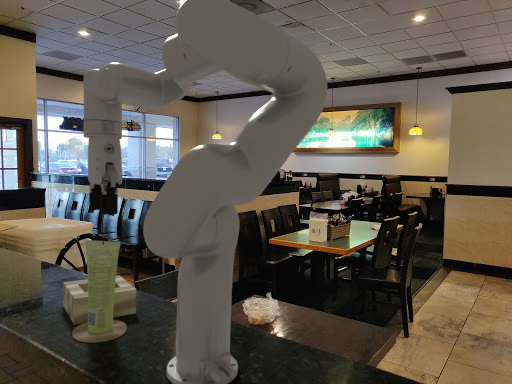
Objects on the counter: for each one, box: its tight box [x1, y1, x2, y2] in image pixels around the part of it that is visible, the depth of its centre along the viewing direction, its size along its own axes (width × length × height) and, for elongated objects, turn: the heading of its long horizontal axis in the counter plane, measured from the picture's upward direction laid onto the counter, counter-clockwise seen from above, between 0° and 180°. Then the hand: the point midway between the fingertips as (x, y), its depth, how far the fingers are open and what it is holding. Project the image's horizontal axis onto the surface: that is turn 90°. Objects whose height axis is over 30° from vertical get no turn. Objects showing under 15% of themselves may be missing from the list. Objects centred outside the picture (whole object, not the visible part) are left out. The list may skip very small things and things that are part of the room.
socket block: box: [62, 275, 137, 326], centre depth 97 cm, size 14×14×6 cm
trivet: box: [71, 319, 128, 344], centre depth 84 cm, size 11×11×1 cm
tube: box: [84, 239, 121, 334], centre depth 84 cm, size 6×5×20 cm
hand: (102, 211), depth 83 cm, fingers open, 9 cm apart
